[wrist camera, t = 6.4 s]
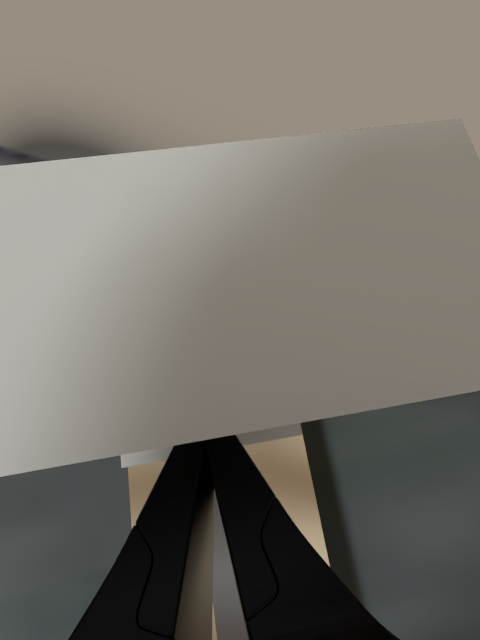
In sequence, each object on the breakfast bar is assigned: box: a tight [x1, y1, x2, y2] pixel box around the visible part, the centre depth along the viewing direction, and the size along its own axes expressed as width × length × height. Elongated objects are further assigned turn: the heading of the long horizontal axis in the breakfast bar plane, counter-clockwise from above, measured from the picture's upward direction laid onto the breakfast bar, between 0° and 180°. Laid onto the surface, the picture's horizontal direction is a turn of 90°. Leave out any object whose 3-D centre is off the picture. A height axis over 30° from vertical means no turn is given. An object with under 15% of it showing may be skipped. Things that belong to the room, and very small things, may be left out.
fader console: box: [128, 435, 330, 640], centre depth 14 cm, size 18×8×2 cm, turn 9°
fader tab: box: [0, 119, 480, 477], centre depth 9 cm, size 5×7×13 cm
